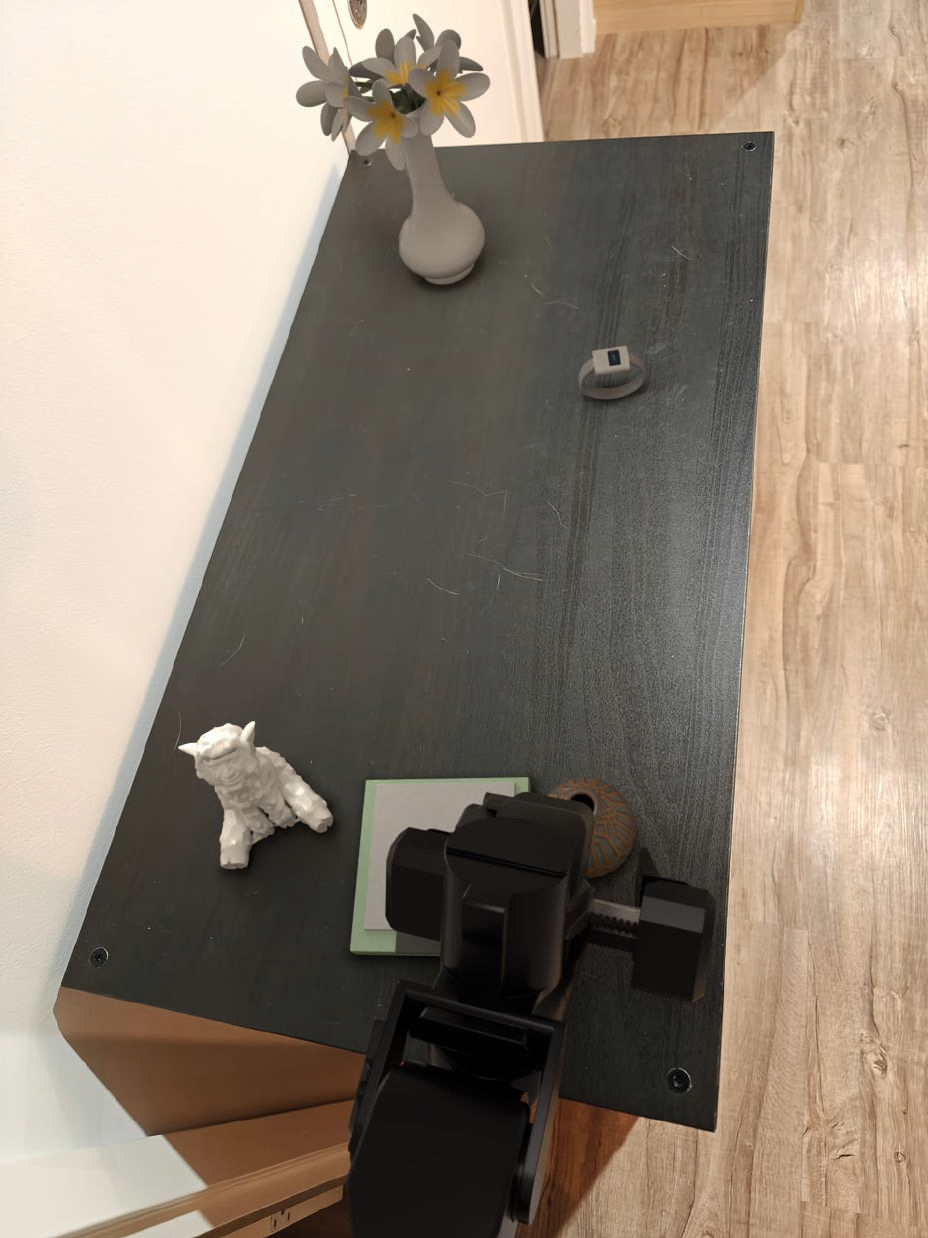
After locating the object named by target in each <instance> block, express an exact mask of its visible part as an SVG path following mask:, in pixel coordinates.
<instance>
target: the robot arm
mask: <svg viewBox="0 0 928 1238" xmlns="http://www.w3.org/2000/svg"><path fill="white" fill-rule="evenodd" d="M594 822H595V819H594V814H593V812H592V810H591V809H590V808H589V807H588V806H587V805H586V804H584V803H582V802H578V801H573V800H565V799H560V798H554V797H549V796H548V795H544V794H539V793H536V792H532V791H531V792H521V793H518V794H517V795H515V796H513V797H510V796H505V795H500V794H495V793H490V792H486V793H485V796H484V800H483V804H482V805H479V804H474V803H472V804H470V805H469V806H467V807H466V808H465V809H464V811H463V813H462V815H461V817H460V819H459V820H458V822H457V824H456V826H455V830H454V831H453V832H448V831H443V830H438V829H433V828H431V829H427V830H422V829H417V828H412V827H408V828H406V829H405V830H404V831H402V832H401V833H400V834H399V835H398V836H397V838H396V839H395V841H394V842H393V843H392V845H391V846H390V849H389V852H388V856H387V859H386V898H385V917H386V919H387V921H388V924H389V926H390V927H391V928H392V929H393V930H395V931H398V932H402V933H406V934H410V935H414V936H418V937H422V938H426V939H430V940H435V941H439V942H440V956H439V972H438V975H437V977H436V979H435V981H434V983H433V985H432V986H430V985H429V986H428V985H425V984H421V983H416V982H412V981H409V980H405V979H401V978H399V979H398V981H397V983H396V986H395V990H394V992H393V996H392V999H391V1003H390V1005H389V1009H388V1013H387V1014H386V1018H385V1020H384V1019H379V1018H375V1019H374V1022H373V1026H372V1031H371V1034H370V1038H369V1042H368V1045H367V1050H366V1053H365V1057H364V1060H363V1065H362V1069H361V1072H360V1077H359V1081H358V1085H357V1089H356V1091H355V1095H354V1100H353V1104H352V1109H351V1112H350V1116H349V1119H348V1124H347V1134H348V1136H349V1141H348V1145H347V1153H349V1164H350V1167H349V1170H348V1173H347V1176H346V1178H345V1182H344V1192H345V1201H346V1209H347V1217H348V1226H349V1227H348V1228H349V1235H350V1238H515V1236H516V1233H517V1228H518V1225H519V1223H520V1224H523V1225H526V1226H531V1225H532V1224H533V1223H534V1222H533V1221H534V1219H535V1216H536V1212H537V1210H538V1207H539V1203H540V1198H541V1194H542V1189H543V1184H544V1180H545V1174H546V1169H547V1164H548V1157H549V1151H550V1145H551V1140H552V1133H553V1129H554V1128H553V1127H554V1123H555V1116H556V1111H557V1104H558V1099H559V1092H560V1087H561V1082H562V1074H563V1069H564V1064H565V1056H566V1049H567V1047H566V1046H567V1038H568V1037H567V1036H568V1025H569V1023H568V1022H567V1021H565V1019H566V1017H567V1012H568V1009H569V1006H570V1003H571V1000H572V996H573V993H574V990H575V987H576V983H577V980H578V977H579V973H580V970H581V968H582V964H583V960H584V957H585V954H586V951H587V947H588V944H591V945H595V946H599V947H603V948H607V949H611V950H616V951H619V952H620V951H621V952H624V953H629V954H631V962H633V963H632V964H633V965H632V972H631V982H630V989H632V990H635V991H639V992H643V993H648V994H652V995H657V996H660V997H664V998H668V999H672V1000H677V1001H680V1002H685V1003H688V1004H693V1003H695V1002H696V1001H698V1000H699V999H700V998H701V997H703V996H704V995H705V991H706V990H705V989H706V983H707V978H708V970H709V966H710V957H711V951H712V944H713V939H714V931H715V924H716V916H717V908H718V900H717V899H716V897H715V895H713V893H711V891H710V890H709V889H705V888H702V887H697V886H692V885H691V884H690V883H689V882H687V881H684V880H681V879H676V878H670V877H668V876H667V877H666V876H662V875H661V874H660V872H659V870H658V868H657V865H656V864H655V861H654V859H653V857H652V855H651V853H650V850H649V848H648V847H645V846H641V847H640V849H639V852H638V856H637V865H636V873H635V883H634V884H635V885H634V886H635V887H634V905H633V906H631V905H626V904H622V903H616V902H614V901H613V902H612V901H608V900H604V899H598V898H595V895H596V894H595V891H596V887H595V886H591V884H590V883H589V882H588V881H587V878H586V875H587V869H588V862H589V855H590V848H591V841H592V835H593V830H594ZM408 1036H409V1037H410V1038H411V1039H413V1040H415V1041H419V1042H422V1043H427V1054H428V1058H429V1063H426V1062H423V1061H419V1060H415V1059H412V1058H407V1060H405V1061H404V1062H403V1057H404V1053H405V1048H406V1044H407V1038H408ZM535 1104H536V1107H535V1111H534V1116H533V1121H532V1122H530V1121H531V1116H532V1115H531V1114H532V1108H533V1107H534V1106H535Z"/></svg>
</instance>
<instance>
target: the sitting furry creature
mask: <svg viewBox="0 0 928 1238" xmlns="http://www.w3.org/2000/svg"><path fill="white" fill-rule="evenodd" d="M255 725H256V721H253V720H252V721H250V722H248V723H247V725H245V727H244V728H242V727H240V726H239V725H234V724H233V723H230V722H229V723H228V722H227V723H225V724H224V725H221V726H214V727H213V728H212V729H211V730H209V731H207V732H205V733H203V734H201V736H200V737H199V739H198V740H197V741H196V742H188V743H185V744H182V745H179V746H178V747H177V748H178V749H179V750H180V751H182V752H184V753H186V754H189V755H191V756H192V757H193V758H194V763H195V764H194V769H195V770H196V776H197V777H198V779H203V780H204V781H205V782H207V783H208V785H209V786H214V792H215V794H217V798H218V800H219V801H220V803H221V806H222V808H223V821H222V830H221V834H220V836H219V839H218V842H219V843H220V849H219V850H220V858H219V861H220V868H223V869H228V870H236V869H240V870H241V869H244V868H247V867H248V865H249V861H250V851H251V850H252V846H253V845H255V844H256V843H258V842H259V841H261V840H263V839H267V838H268V836H273V835H274V834H275V830H276V829H275V828H276V827H280V828H282V829H288V828H287V827H290V828H292V827H294V826H295V825H296V823H298V822H301V823H303V824H305V825H308V826H309V828H310V829H312V830H313V831H315V832H316V833H319V834H322V833H326V832H327V831H328V827H329V828H331V827H332V825H333V823H334V817H333V815H332V812H331V811H330V809H329V808H328V803H327V802H326V801H325V800H324V799H323V798H322V796H321V795H319V794H318V793H316V792H315V790H313V789H312V787H311V786H310V784H308V783H307V782H306V781H305V780H303V778H302V776H301V775H298V774H297V772H296V770H295V769H294V767H292V766H291V765H290V763H288V762H287V761H286V759H285V757H282V756H281V753H280V752H276V751H272V750H271V749H269V748H268V747H267V746H262V747H259V746H258V747H257V746H256V747H255V745H254V741H255V736H256V731H255ZM266 814H268V816H267V815H266Z"/></svg>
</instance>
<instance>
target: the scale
mask: <svg viewBox="0 0 928 1238" xmlns="http://www.w3.org/2000/svg"><path fill="white" fill-rule="evenodd" d="M486 792H490V793H495V794H500V795H505V796H510V797H513V796H515V795H517V794H518V793H521V792H532V783H531V781H530V778H529V777H528V776H527V777H524V776H522V777H468V778H467V777H465V778H415V779H414V778H409V779H408V778H407V779H366V780H365V787H364V799H363V810H362V817H361V830H360V841H359V851H358V852H359V853H358V862H357V871H356V883H355V892H354V893H355V894H354V905H353V913H352V915H353V916H352V924H351V926H352V927H351V935H350V946H349V951H350V952H351V953H353V954H354V955H356V956H357V955H358V956H361V955H362V956H363V955H364V956H409V957H410V956H415V957H440V942H439V941H435V940H430V939H426V938H422V937H418V936H414V935H410V934H406V933H402V932H398V931H395V930H393V929H392V928H391V927H390V926H389V924H388V921H387V919H386V917H385V898H386V859H387V856H388V852H389V849H390V846H391V845H392V843H393V842H394V841H395V839H396V838H397V836H398V835H399V834H400V833H401V832H402V831H404V830H405V829H406V828H408V827H412V828H417V829H422V830H427V829H431V828H433V829H438V830H443V831H448V832H453V831H454V830H455V826H456V824H457V822H458V820H459V819H460V817H461V815H462V813H463V811H464V809H465V808H466V807H467V806H469V805H470V804H472V803H474V804H479V805H482V804H483V800H484V796H485V793H486Z"/></svg>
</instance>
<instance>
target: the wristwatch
mask: <svg viewBox="0 0 928 1238" xmlns="http://www.w3.org/2000/svg"><path fill="white" fill-rule="evenodd" d="M591 352H592V357H591V358H590V359H588V360H587V361H586V362H585V363H584V364H583V365H582V367H581V369H580V370H579V373H578V384H579V385H578V386H579V387H578V388H579V389H580V392H581V393H582V394H583V395H585V396H586V397H589V398H591V399H597V400H616V399H621V398H625V397H627V396H629V395H632V394H633V393H634V392H636V391H638V390H639V389H640V388H641V387H642V386H643V385H644V384H645V382H646V379H647V372H646V367H645V364H644V362H643V360H642V359H641V358H640V357H639V356H637V355H636V354H635V353H632V352H630V351H629V350H628V347H627V345H622V346H621V345H620V346H616V347H609V348H603V349H596V350H592V351H591ZM630 365H631V366H634V367H636V368H637V369H638V370H639V373H638V374H637V375H636V377H634V378H633V379H631V380H630V381H629V382H626V383H625V384H622V385H620V386H615V387H608V388H607V387H606V388H605V387H597V386H596V387H595V386H592V385H590V384H588V383H587V382H585V380H586V378H587V377H588V375H589V374H590V373H591V372H593V371H594V375H595V377H596V376H604V375H610V374H616V373H622V372H628V371H631V366H630Z"/></svg>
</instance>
